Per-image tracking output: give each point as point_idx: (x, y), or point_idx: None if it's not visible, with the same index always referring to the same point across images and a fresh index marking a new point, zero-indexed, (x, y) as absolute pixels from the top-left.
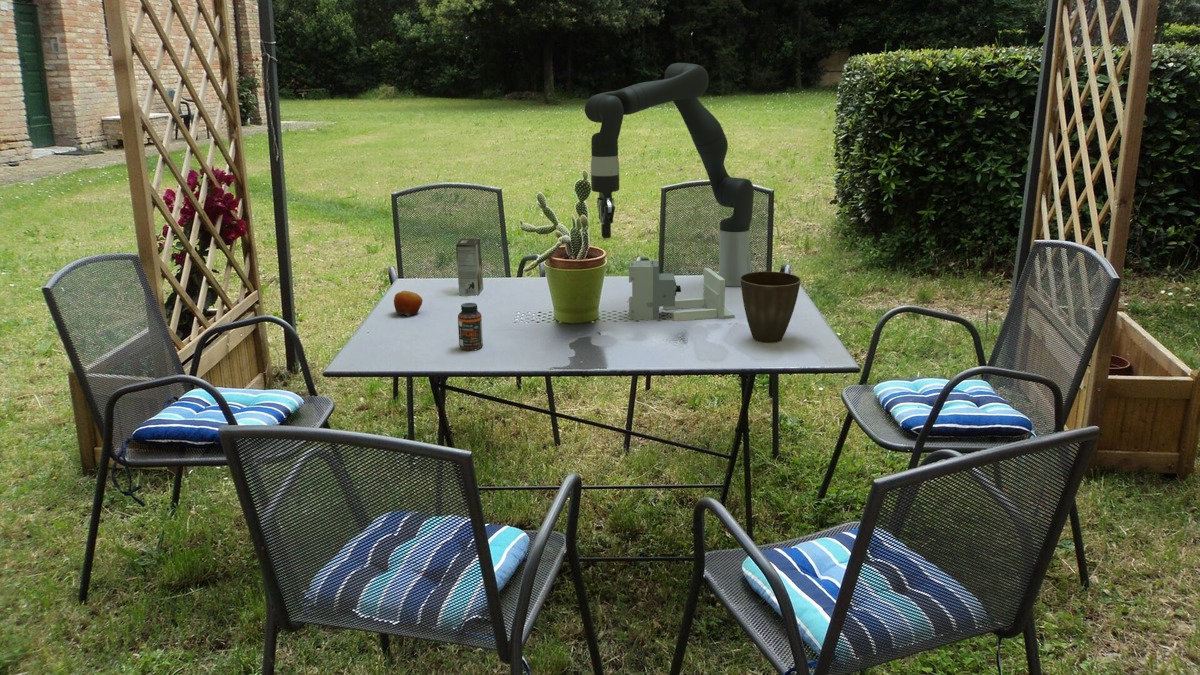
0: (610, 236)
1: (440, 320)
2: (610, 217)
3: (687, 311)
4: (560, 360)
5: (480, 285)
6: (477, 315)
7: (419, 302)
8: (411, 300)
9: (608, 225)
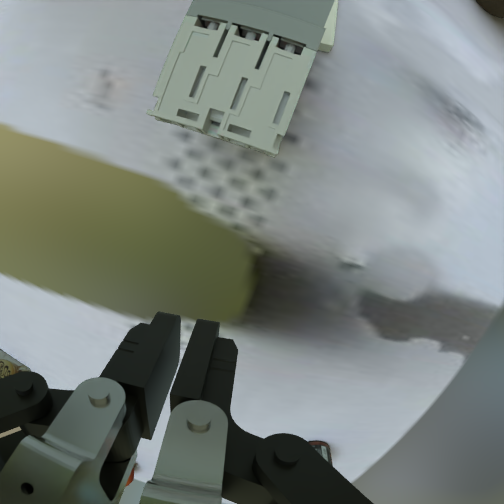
0: (217, 325)
1: (157, 448)
2: (221, 482)
3: (334, 14)
4: (442, 363)
5: (10, 367)
6: None
7: None
8: (129, 478)
9: (230, 421)
